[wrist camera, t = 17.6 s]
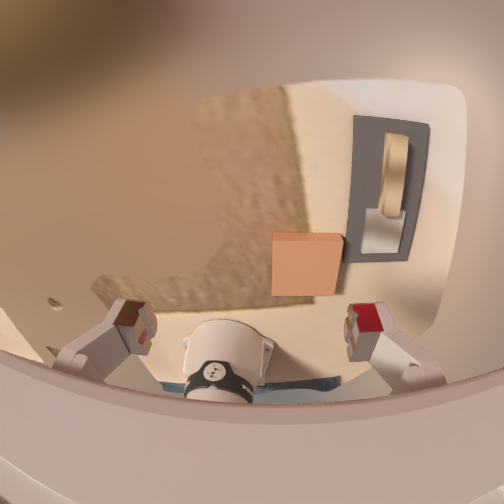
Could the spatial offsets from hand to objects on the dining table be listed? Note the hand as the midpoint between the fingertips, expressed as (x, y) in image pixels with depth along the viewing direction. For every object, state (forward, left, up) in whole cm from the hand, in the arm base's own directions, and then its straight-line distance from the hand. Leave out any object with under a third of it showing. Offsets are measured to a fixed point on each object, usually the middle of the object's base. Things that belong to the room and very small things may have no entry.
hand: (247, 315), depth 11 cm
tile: (-12, -6, -27) cm, 30 cm away
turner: (-7, -17, -28) cm, 33 cm away
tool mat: (-6, -17, -28) cm, 33 cm away
